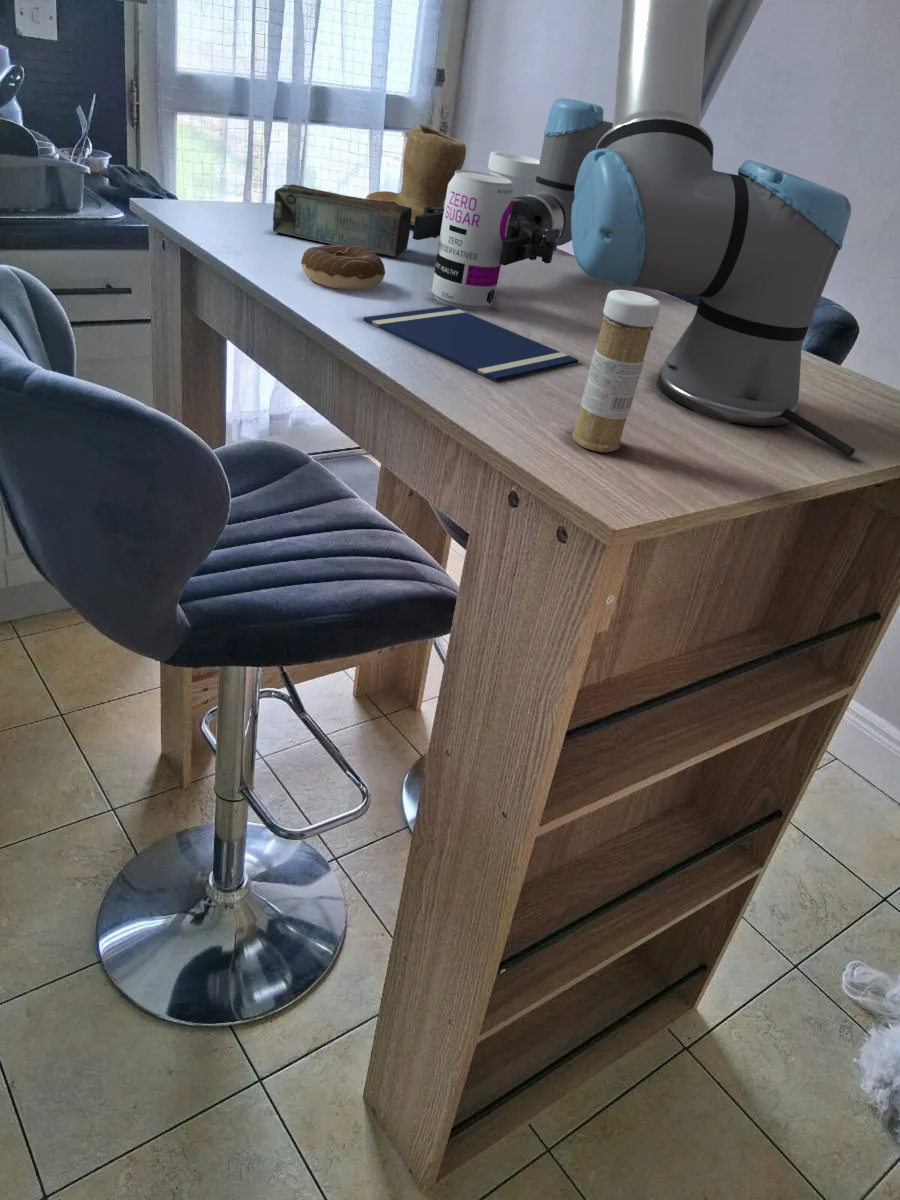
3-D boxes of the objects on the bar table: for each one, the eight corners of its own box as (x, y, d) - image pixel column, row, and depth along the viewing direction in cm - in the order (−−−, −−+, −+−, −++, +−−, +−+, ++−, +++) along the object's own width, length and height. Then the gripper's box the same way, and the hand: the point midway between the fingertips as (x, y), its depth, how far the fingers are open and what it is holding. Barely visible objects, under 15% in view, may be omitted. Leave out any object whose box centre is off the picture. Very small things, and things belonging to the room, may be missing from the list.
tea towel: (577, 363, 103) (578, 359, 102) (495, 381, 92) (496, 377, 92) (450, 309, 112) (450, 305, 112) (363, 320, 102) (363, 316, 102)
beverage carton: (287, 224, 137) (290, 177, 134) (409, 250, 136) (415, 204, 133) (270, 232, 130) (273, 184, 127) (398, 260, 130) (405, 212, 126)
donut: (380, 300, 111) (384, 266, 108) (294, 285, 110) (297, 251, 107) (385, 279, 120) (389, 248, 117) (306, 265, 118) (308, 233, 116)
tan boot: (466, 235, 153) (483, 138, 145) (407, 233, 147) (421, 131, 139) (419, 213, 163) (432, 121, 155) (362, 210, 156) (372, 114, 148)
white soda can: (494, 299, 120) (517, 178, 112) (490, 315, 113) (515, 188, 105) (434, 287, 120) (453, 166, 112) (427, 303, 113) (447, 174, 105)
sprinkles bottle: (607, 434, 85) (648, 291, 78) (627, 455, 81) (671, 306, 74) (563, 432, 84) (600, 285, 76) (581, 453, 80) (621, 301, 73)
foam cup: (525, 250, 151) (542, 166, 144) (472, 238, 152) (486, 154, 145) (532, 240, 159) (548, 161, 152) (481, 229, 160) (495, 149, 153)
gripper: (599, 274, 125) (541, 297, 108) (449, 231, 132) (372, 247, 115) (613, 217, 121) (555, 232, 104) (458, 176, 128) (380, 184, 111)
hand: (459, 240), depth 109 cm, fingers open, 11 cm apart
